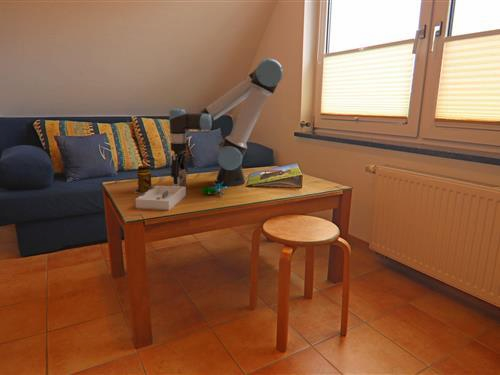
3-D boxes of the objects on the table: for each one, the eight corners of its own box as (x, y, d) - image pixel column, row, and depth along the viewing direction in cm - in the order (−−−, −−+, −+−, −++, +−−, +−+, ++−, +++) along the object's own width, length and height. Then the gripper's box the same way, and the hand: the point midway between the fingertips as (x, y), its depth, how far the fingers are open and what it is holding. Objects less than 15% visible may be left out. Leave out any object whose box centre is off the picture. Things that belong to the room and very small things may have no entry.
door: (188, 186, 175) (187, 169, 172) (181, 191, 165) (181, 173, 163) (180, 186, 175) (179, 168, 173) (173, 191, 166) (173, 173, 163)
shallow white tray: (185, 195, 160) (185, 186, 159) (169, 210, 139) (168, 200, 138) (156, 193, 162) (156, 184, 160) (136, 208, 141) (135, 198, 139)
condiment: (152, 192, 163) (150, 168, 160) (133, 193, 161) (131, 168, 158) (152, 188, 170) (151, 164, 167) (134, 189, 168) (133, 165, 165)
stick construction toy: (228, 188, 165) (224, 177, 159) (230, 199, 160) (226, 189, 154) (204, 194, 165) (199, 184, 159) (205, 206, 161) (200, 196, 155)
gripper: (178, 139, 175) (180, 181, 181) (162, 145, 154) (164, 193, 160) (192, 139, 175) (194, 182, 180) (178, 145, 153) (180, 194, 159)
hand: (180, 187), depth 170 cm, fingers closed on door, 10 cm apart
